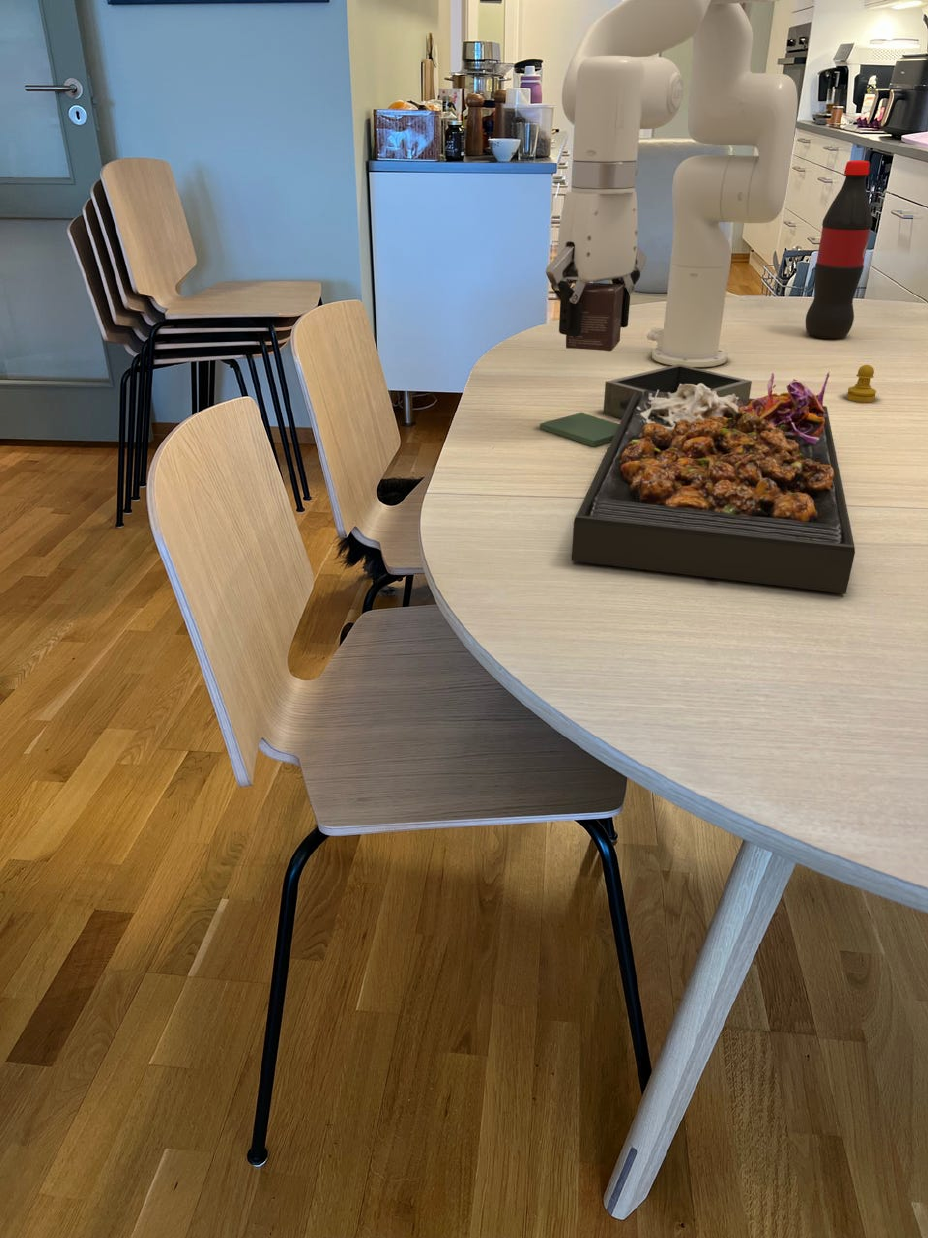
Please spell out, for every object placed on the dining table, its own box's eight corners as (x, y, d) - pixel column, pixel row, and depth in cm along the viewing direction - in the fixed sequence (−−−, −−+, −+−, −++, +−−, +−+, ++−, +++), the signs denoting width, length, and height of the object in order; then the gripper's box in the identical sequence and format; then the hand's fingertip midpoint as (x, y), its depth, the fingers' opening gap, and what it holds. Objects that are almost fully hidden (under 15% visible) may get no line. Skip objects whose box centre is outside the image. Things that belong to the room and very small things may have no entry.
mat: (539, 428, 125) (540, 423, 124) (581, 417, 129) (581, 412, 129) (593, 447, 118) (594, 441, 118) (635, 434, 122) (635, 428, 122)
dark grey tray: (603, 413, 131) (605, 381, 129) (675, 393, 140) (678, 363, 138) (675, 434, 122) (679, 401, 120) (747, 412, 131) (752, 381, 129)
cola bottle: (851, 333, 177) (886, 159, 162) (848, 342, 170) (883, 161, 155) (805, 329, 180) (835, 158, 165) (800, 338, 173) (830, 160, 159)
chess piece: (876, 402, 135) (884, 368, 133) (848, 401, 136) (855, 367, 134) (871, 395, 139) (879, 362, 136) (844, 394, 139) (851, 361, 137)
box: (620, 342, 120) (625, 283, 116) (611, 353, 115) (616, 291, 111) (574, 339, 121) (578, 281, 118) (564, 349, 116) (567, 288, 113)
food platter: (630, 424, 125) (637, 347, 120) (821, 440, 119) (836, 359, 114) (571, 560, 87) (578, 456, 82) (845, 593, 81) (870, 483, 76)
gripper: (628, 173, 116) (617, 317, 124) (528, 179, 106) (523, 334, 115) (676, 176, 111) (661, 325, 119) (574, 183, 101) (566, 345, 110)
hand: (593, 329), depth 117 cm, fingers closed on box, 8 cm apart
